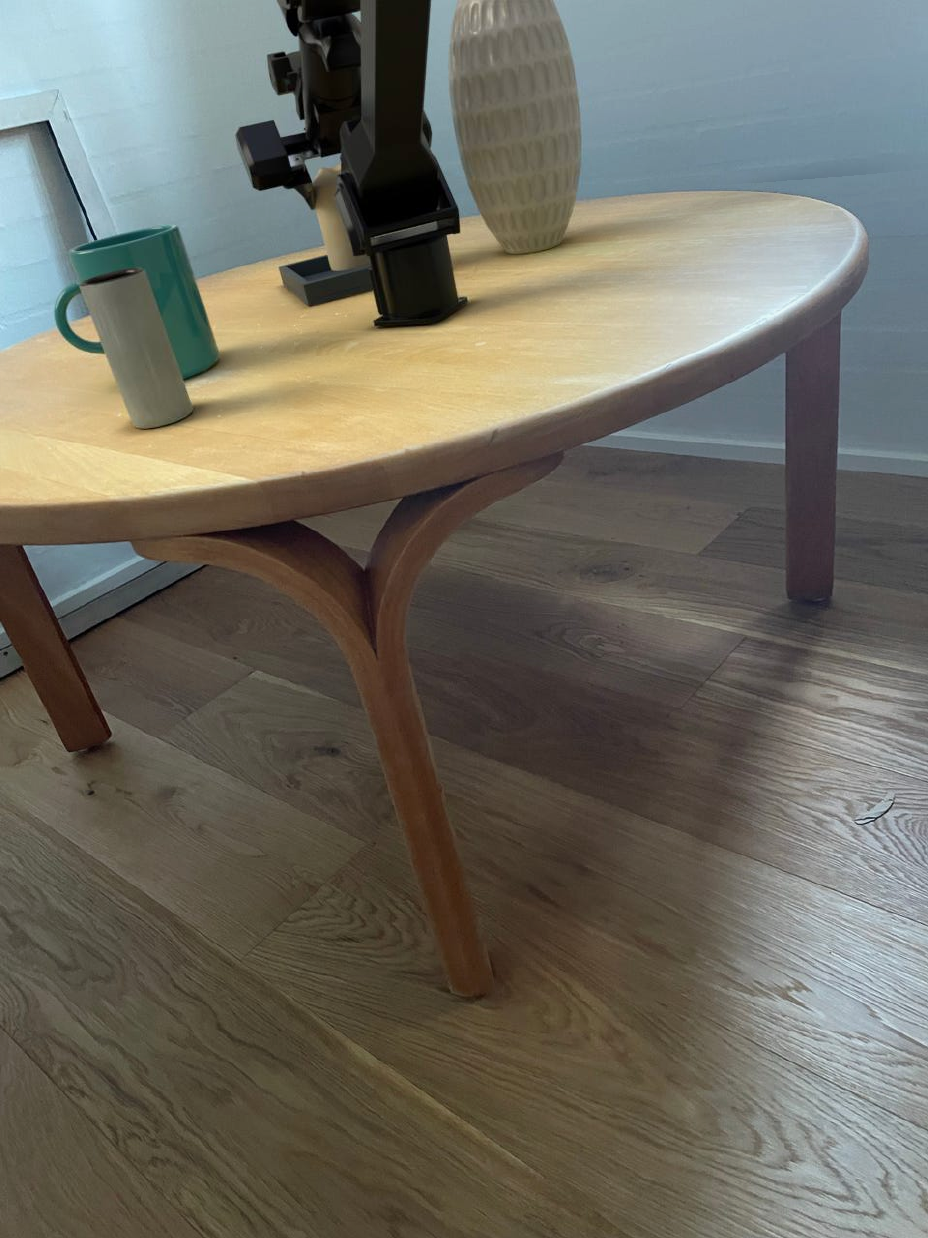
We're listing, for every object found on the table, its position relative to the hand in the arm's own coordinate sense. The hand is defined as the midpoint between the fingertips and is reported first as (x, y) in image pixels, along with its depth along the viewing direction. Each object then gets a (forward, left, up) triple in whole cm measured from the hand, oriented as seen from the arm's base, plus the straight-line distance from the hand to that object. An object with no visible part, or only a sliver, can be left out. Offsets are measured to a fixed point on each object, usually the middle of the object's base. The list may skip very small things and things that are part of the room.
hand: (337, 200), depth 99 cm
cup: (0, +32, -8) cm, 33 cm away
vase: (-19, -7, -8) cm, 22 cm away
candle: (-1, +1, -7) cm, 7 cm away
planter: (-10, +42, -8) cm, 44 cm away
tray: (-1, +1, -8) cm, 8 cm away
